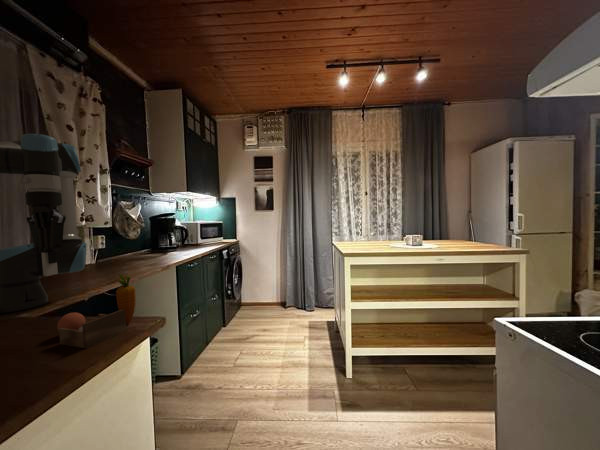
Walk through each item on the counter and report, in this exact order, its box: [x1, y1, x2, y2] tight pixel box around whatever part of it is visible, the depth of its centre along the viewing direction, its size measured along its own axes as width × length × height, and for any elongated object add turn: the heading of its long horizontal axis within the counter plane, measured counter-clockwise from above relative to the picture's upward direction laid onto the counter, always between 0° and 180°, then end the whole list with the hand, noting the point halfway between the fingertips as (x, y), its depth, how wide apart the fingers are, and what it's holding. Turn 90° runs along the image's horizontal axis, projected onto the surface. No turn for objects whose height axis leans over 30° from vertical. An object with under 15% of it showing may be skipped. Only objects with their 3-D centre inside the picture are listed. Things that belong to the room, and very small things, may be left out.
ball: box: [57, 312, 87, 332], centre depth 77 cm, size 6×6×6 cm
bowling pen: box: [58, 309, 127, 349], centre depth 74 cm, size 10×11×6 cm
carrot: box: [115, 274, 137, 325], centre depth 82 cm, size 5×5×15 cm
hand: (50, 274), depth 79 cm, fingers closed
